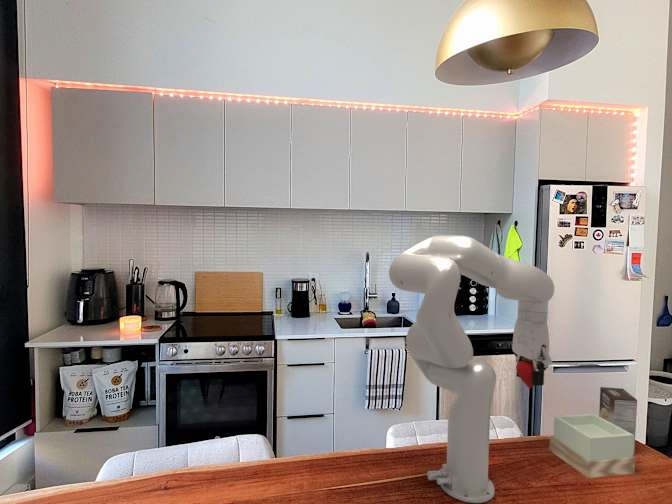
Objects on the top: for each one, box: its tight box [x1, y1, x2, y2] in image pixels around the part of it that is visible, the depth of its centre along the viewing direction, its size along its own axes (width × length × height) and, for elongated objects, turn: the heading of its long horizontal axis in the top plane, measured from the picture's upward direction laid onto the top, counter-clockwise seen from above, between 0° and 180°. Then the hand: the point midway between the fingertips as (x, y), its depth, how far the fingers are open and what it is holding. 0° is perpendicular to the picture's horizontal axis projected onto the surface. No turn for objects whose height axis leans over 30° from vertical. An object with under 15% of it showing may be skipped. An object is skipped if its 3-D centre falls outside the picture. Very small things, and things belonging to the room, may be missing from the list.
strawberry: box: [515, 358, 540, 389], centre depth 113 cm, size 6×8×10 cm
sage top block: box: [552, 413, 634, 462], centre depth 111 cm, size 13×13×6 cm
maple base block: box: [548, 435, 636, 479], centre depth 111 cm, size 14×14×4 cm
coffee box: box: [598, 386, 638, 456], centre depth 119 cm, size 9×6×16 cm
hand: (529, 380), depth 114 cm, fingers closed on strawberry, 6 cm apart
